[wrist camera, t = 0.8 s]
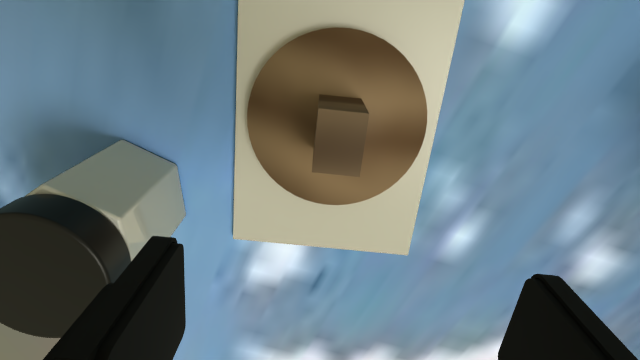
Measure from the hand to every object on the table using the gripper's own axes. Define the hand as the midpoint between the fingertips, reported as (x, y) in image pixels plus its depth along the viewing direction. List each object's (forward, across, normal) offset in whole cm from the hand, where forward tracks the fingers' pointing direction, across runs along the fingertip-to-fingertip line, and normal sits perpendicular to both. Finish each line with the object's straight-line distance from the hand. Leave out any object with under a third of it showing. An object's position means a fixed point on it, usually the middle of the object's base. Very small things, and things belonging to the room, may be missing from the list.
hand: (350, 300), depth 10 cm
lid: (+20, 0, 0) cm, 20 cm away
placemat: (+20, 0, +1) cm, 20 cm away
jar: (+21, +15, +8) cm, 27 cm away
